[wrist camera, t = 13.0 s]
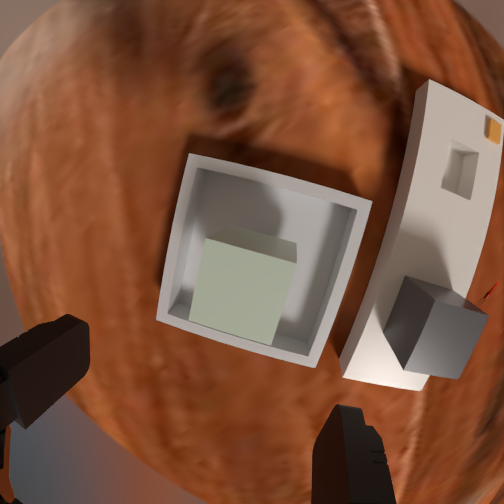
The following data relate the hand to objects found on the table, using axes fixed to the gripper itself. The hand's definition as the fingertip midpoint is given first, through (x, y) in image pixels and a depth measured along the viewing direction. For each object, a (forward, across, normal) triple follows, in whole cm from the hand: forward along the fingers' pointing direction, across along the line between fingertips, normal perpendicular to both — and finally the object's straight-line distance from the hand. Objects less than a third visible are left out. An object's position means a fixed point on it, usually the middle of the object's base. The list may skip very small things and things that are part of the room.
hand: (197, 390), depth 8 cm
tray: (+20, +1, 0) cm, 20 cm away
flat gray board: (+20, -14, -5) cm, 26 cm away
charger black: (+19, -14, +1) cm, 24 cm away
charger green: (+20, +1, +1) cm, 20 cm away
